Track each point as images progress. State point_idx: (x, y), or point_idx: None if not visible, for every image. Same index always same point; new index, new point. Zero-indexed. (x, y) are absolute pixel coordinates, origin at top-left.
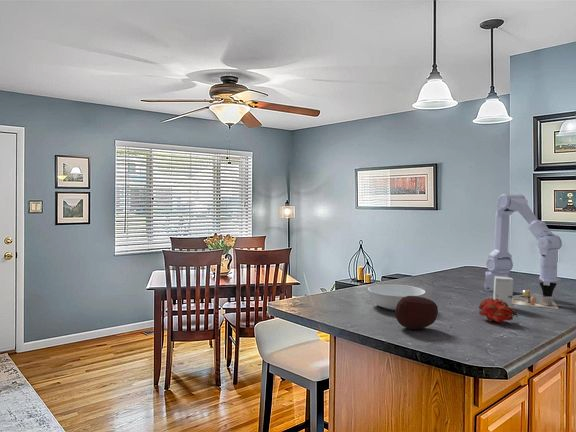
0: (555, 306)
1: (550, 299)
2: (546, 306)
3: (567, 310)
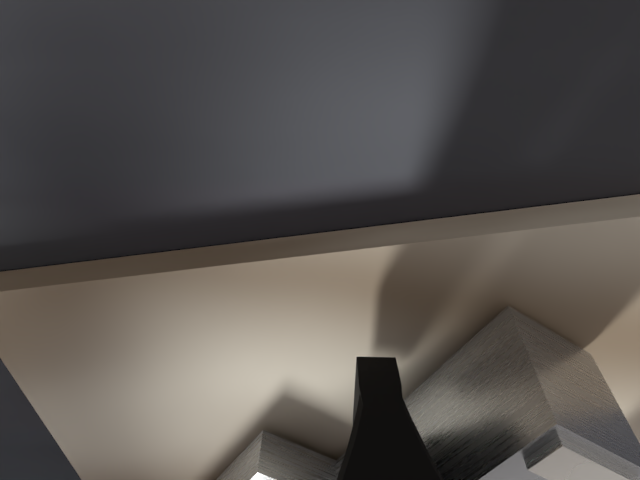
0: (543, 254)
1: (583, 410)
2: (614, 356)
3: (602, 44)
